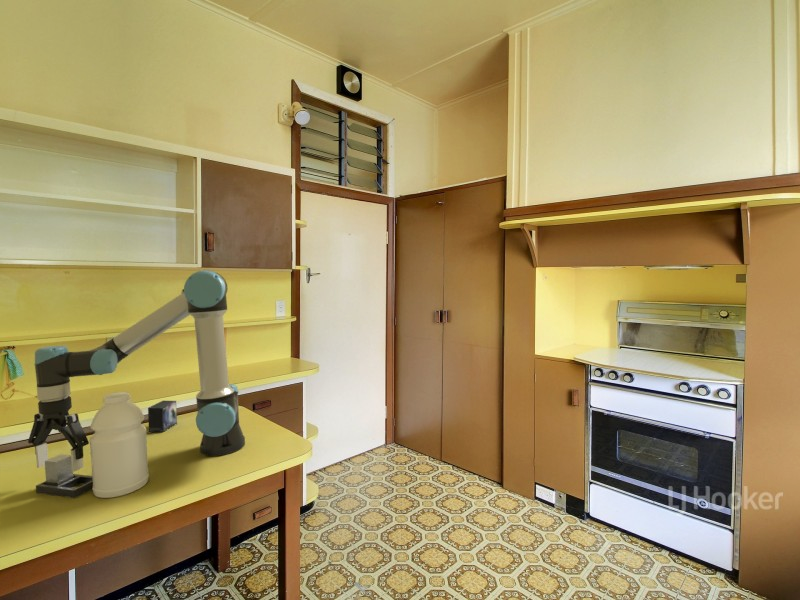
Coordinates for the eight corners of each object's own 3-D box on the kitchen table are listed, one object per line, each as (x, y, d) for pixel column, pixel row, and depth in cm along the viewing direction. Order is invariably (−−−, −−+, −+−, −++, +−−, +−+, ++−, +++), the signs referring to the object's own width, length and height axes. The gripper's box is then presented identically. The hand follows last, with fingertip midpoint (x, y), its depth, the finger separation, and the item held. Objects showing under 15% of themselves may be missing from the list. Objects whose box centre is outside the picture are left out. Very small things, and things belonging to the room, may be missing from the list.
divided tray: (101, 484, 123) (101, 477, 123) (74, 498, 115) (74, 490, 115) (64, 479, 126) (64, 472, 126) (36, 492, 118) (35, 485, 118)
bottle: (86, 503, 112) (79, 404, 111) (100, 481, 125) (94, 392, 123) (145, 492, 118) (140, 397, 116) (152, 471, 130) (148, 386, 129)
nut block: (73, 484, 123) (72, 455, 123) (58, 491, 119) (56, 462, 118) (62, 482, 124) (60, 454, 124) (46, 490, 120) (44, 460, 119)
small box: (163, 432, 164) (162, 407, 164) (147, 433, 165) (146, 407, 164) (178, 423, 175) (177, 399, 175) (163, 423, 175) (162, 400, 175)
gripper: (100, 396, 121) (105, 465, 122) (36, 393, 127) (42, 459, 128) (74, 403, 114) (80, 477, 115) (8, 400, 119) (14, 470, 120)
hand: (60, 467), depth 121 cm, fingers open, 13 cm apart
